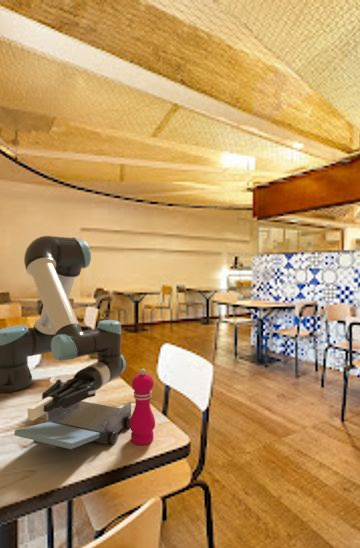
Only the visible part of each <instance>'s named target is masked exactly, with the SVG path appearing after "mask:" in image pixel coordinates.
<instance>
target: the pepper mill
mask: <svg viewBox="0 0 360 548" xmlns="http://www.w3.org/2000/svg"><path fill="white" fill-rule="evenodd" d="M153 379H154V378H153V376H151V375H150V374H148V373H147V370H146V369H145V368H140V370H139V374H136V375H135V376H134V377H133V379H132V381H131V382H132V383H131V387H132V389H133V391H134V392H133V398H134V399H135V402H134V403H135V406H134V409H133V412H132V413H131V419H130V425H129V426H130V428H129V430H131V431H132V432H131V434H130V441H131V442H132V444H134V445H137V446H146V445H149V444H150V443H151V444H152V442H153V441H154V429H155V427H156V419H155V415H154V414H153V411H152V409H151V404H150V403H151V402H150V401H151V399H152V390H153V388H154V380H153Z"/></svg>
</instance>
